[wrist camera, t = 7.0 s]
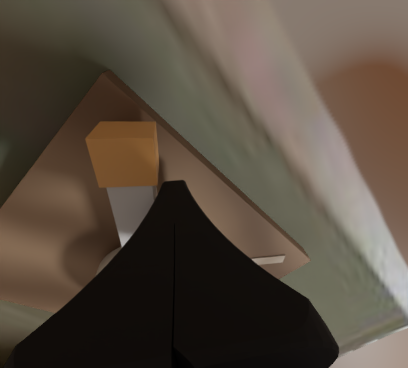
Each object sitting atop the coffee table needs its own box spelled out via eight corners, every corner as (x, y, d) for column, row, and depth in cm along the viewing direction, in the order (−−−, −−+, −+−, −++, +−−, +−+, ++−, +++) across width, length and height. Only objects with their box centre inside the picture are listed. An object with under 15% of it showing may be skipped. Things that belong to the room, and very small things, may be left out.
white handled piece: (202, 296, 16) (208, 341, 14) (109, 307, 15) (98, 357, 13) (217, 118, 9) (237, 149, 6) (31, 117, 8) (-36, 153, 5)
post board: (172, 327, 22) (172, 342, 21) (-41, 267, 13) (-59, 287, 12) (302, 248, 17) (311, 261, 16) (109, 69, 8) (101, 73, 7)
